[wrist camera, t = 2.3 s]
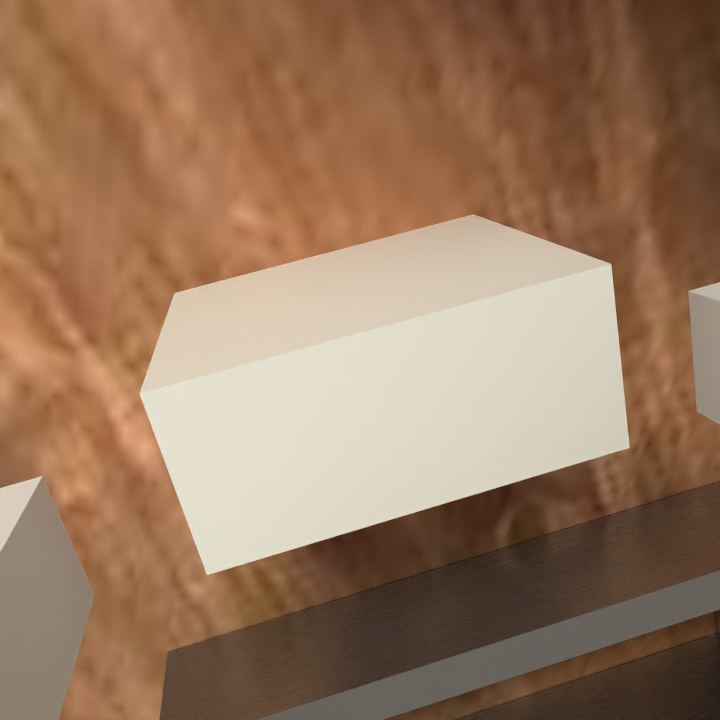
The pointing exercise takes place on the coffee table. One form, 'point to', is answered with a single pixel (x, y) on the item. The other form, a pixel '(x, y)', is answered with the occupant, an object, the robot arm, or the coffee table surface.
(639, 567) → the rack
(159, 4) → the coffee table surface
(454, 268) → the block
